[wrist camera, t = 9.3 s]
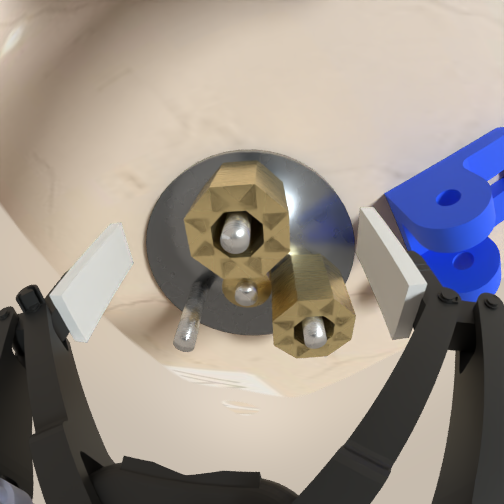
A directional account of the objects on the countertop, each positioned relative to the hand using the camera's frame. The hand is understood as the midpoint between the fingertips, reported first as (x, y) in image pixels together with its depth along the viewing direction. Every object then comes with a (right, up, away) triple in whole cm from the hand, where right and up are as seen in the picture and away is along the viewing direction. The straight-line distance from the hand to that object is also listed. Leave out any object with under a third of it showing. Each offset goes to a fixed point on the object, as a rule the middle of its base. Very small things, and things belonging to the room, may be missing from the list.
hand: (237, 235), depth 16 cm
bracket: (+22, +5, +6) cm, 23 cm away
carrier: (+1, -1, +10) cm, 10 cm away
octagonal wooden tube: (0, +3, +7) cm, 7 cm away
